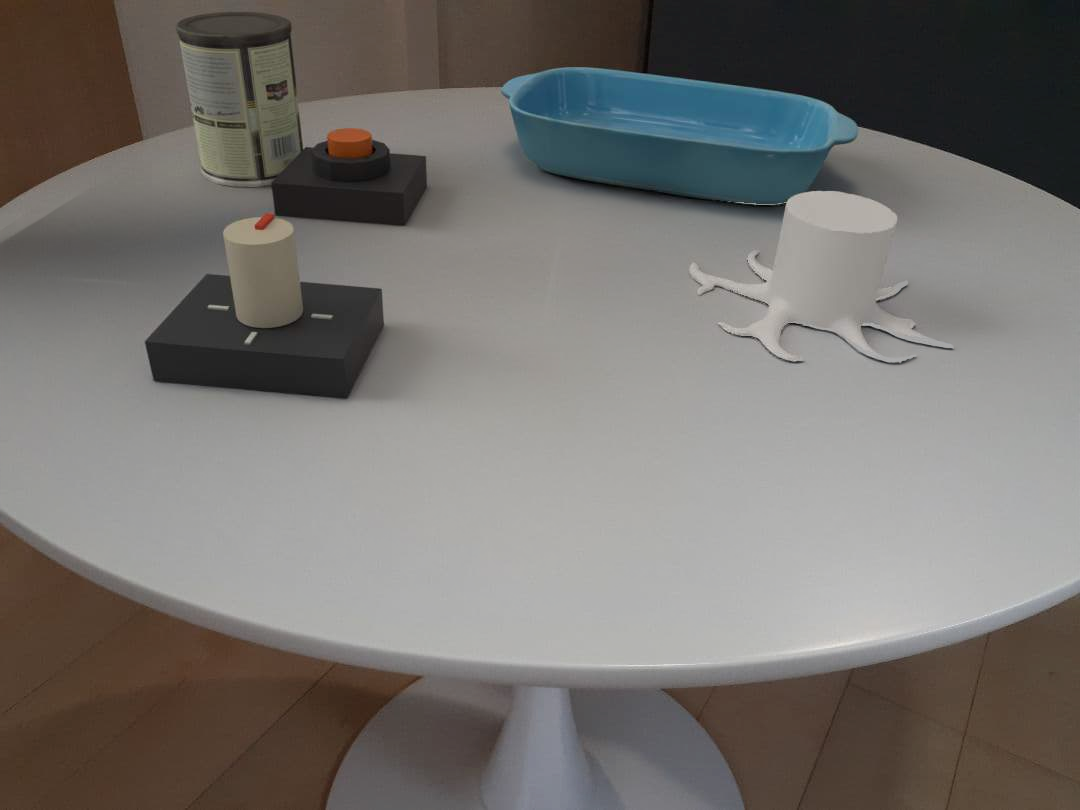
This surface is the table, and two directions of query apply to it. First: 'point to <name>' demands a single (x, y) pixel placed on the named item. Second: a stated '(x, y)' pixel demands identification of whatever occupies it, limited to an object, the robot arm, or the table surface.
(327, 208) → the button base
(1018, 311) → the table surface
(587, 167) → the casserole dish
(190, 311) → the dial panel
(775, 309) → the tree stump
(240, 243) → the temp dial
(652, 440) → the table surface
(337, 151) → the power button
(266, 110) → the coffee can
